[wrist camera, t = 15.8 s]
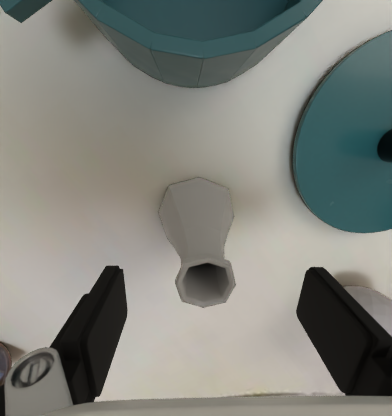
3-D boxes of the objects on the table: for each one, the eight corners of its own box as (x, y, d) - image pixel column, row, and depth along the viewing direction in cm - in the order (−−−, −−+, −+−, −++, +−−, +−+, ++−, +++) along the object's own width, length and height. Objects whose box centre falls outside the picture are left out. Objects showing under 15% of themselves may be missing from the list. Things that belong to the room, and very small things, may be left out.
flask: (159, 173, 19) (132, 216, 9) (238, 178, 19) (288, 224, 10) (158, 244, 21) (137, 334, 12) (228, 247, 22) (261, 335, 12)
